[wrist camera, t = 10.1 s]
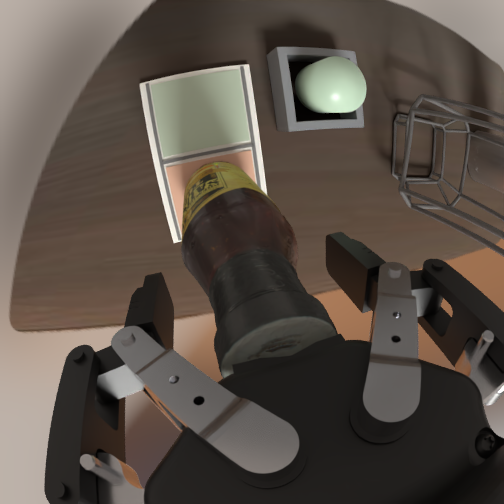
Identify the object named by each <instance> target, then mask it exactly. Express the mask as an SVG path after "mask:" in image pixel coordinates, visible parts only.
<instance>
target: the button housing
mask: <svg viewBox="0 0 504 504" xmlns="http://www.w3.org/2000/svg"><path fill="white" fill-rule="evenodd" d="M266 56H267V62H268V68H269V75H270V81H271V88H272V95H273V102H274V109H275V117H276V124H277V131H286V132H291V131H302V130H315V129H330V128H356V127H364V118H363V107H362V105H361V106H360V107H359V108H358V109H356V110H354V111H352V112H346V113H340V119H324V120H306V121H296V115H295V107H294V99H293V92H292V85H291V78H290V71H289V65H288V62H318V61H320V60H323V59H325V58H328V57H332V56H339V57H343V58H346V59H348V60H350V61H351V62H353V63H354V64H355V65H356V66H357V61H356V55H355V52H354V51H346V50H337V49H326V48H310V47H276V48H275V49H273V50H272V51H271V52H270V53H269V54H267V55H266Z"/></svg>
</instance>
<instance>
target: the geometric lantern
mask: <svg viewBox="0 0 504 504" xmlns="http://www.w3.org/2000/svg"><path fill="white" fill-rule="evenodd" d="M423 99H424V100H426V101H428V102H431V103H433V104H435V105H437V106H439V107H441V108H443V109H445V110H447V111H449V112H451V113H453V114H451V113H445V112H439V111H433V110H426V109H418V108H417V107H418V105H419V104H420V103H421V101H422V100H423ZM440 102H442V103H446V104H451V105H455V106H459V107H462V108H466V109H470V110H473V111H477V112H480V113H483V114H486V115H489V116H492V117H495V118H498V119H501V120H504V115H503V114H500V113H497V112H494V111H491V110H488V109H485V108H481V107H478V106H474V105H470V104H467V103H463V102H459V101H454V100H450V99H445V98H441V97H436V96H430V95H424V94H422V95H420V96H419V97H418V98H417V100H416V101H415V103H414V104H413V105H412V107H411V109H410V110H409V114H408V116H407V115H402V114H397V116H396V118H395V120H394V122H393V123H394V134H393V161H392V175H393V176H394V177H395V178H396V179H397V180H399V181H400V185H399V193H400V195H401V196H402V198H403V199H404V201H405V202H406V204H407V205H408V207H409V208H411V209H413V210H416V211H418V212H420V213H422V214H425V215H427V216H429V217H431V218H433V219H435V220H437V221H439V222H441V223H443V224H445V225H447V226H449V227H451V228H453V229H455V230H457V231H459V232H461V233H463V234H465V235H467V236H469V237H470V238H472V239H474V240H476V241H478V242H480V243H481V244H483V245H485V246H487V247H488V248H490V249H492V250H493V251H495V252H497V253H499V254H500V255H502V256H503V257H504V250H503V249H502V248H500V247H498V246H497V245H495V244H493V243H491V242H490V241H488V240H486V239H484V238H482V237H481V236H479V235H477V234H475V233H473V232H471V231H469V230H467V229H465V228H463V227H461V226H459V225H457V224H455V223H453V222H451V221H449V220H447V219H445V218H443V217H441V216H439V215H436V214H434V213H432V212H430V211H428V210H425V209H443V210H445V211H448V212H450V213H452V214H454V215H456V216H459V217H461V218H463V219H465V220H467V221H469V222H471V223H473V224H475V225H477V226H479V227H481V228H483V229H485V230H487V231H489V232H491V233H493V234H494V235H496V236H498V237H500V238H502V239H504V232H503V231H501V230H499V229H497V228H495V227H493V226H491V225H489V224H487V223H485V222H483V221H481V220H479V219H477V218H475V217H473V216H471V215H469V214H467V213H464V212H462V211H460V210H458V209H456V208H453V207H454V205H455V204H456V203H457V202H458V200H459V199H460V198H463V199H465V200H467V201H469V202H471V203H473V204H474V205H476V206H478V207H480V208H482V209H483V210H485V211H487V212H489V213H491V214H492V215H494V216H496V217H497V218H499V219H501V220H502V221H504V216H502V215H500V214H499V213H497V212H495V211H493V210H492V209H490V208H488V207H486V206H484V205H483V204H481V203H479V202H477V201H475V200H473V199H471V198H469V197H467V196H466V195H464V194H462V191H463V186H464V180H465V174H466V168H467V162H468V154H469V146H470V136H474V137H477V138H480V139H483V140H485V141H488V142H491V143H493V144H496V145H499V146H501V147H503V148H504V143H502V142H499V141H496V140H494V139H491V138H488V137H485V136H482V135H479V134H476V133H473V132H471V131H470V128H469V125H468V123H471V124H475V125H479V126H482V127H486V128H490V129H493V130H496V131H500V132H503V133H504V126H501V125H497V124H494V123H490V122H486V121H482V120H478V119H475V118H472V117H468V116H465V115H463V114H461V113H459V112H458V111H456V110H454V109H452V108H450V107H448V106H446V105H444V104H442V103H440ZM415 113H419V114H426V115H432V116H438V117H443V118H448V119H453V120H451V121H449V122H447V123H444V124H442V123H436V122H432V121H429V120H425V119H421V118H417V117H414V115H415ZM399 117H400V118H401V119H407V120H406V122H405V123H404V122H397V121H398V119H399ZM457 120H458V121H462V122H464V123H465V126H466V129H467V130H454V129H445V126H447V125H449V124H451V123H453V122H455V121H457ZM414 121H418V122H423V123H428V124H431V125H432V126H433V128H434V142H433V160H432V172H431V174H430V175H429V177H428V178H418V177H406V174H407V168H408V162H409V156H410V149H411V142H412V134H413V125H414ZM396 124H397V125H403V126H406V133H405V150H404V162H403V169H402V175H401V174H398V173H394V172H395V157H396ZM435 125H437V126H441V127H442V128H443V129H440V128H436V127H435ZM436 130H438V131H441V132H443V153H442V166H441V175H440V174H437V173H435V172H434V165H435V150H436ZM446 132H464V133H467V142H466V151H465V158H464V165H463V172H462V178H461V183H460V188H459V191H458V190H457V189H456V188H454V187H453V186H452V185H451V184H450V183H448V182H447V181H446V180H445V179H443V170H444V159H445V143H446ZM432 175H436V176H438V177H440V178H439V179H438V180H435V179H432V178H431V177H432ZM407 180H431V181H407ZM441 180H442V181H443V182H445V183H446V184H447V185H448V186H449V187H451V188H452V189H453V190H454V191H455V192H457V193H458V196H457V197H456V198H455V200H454V201H453V202H452V203H451V204H449V202H448V200H447V197H446V195H445V193H444V191H443V189H442V187H441V185H440V183H439V182H440V181H441ZM432 183H437V185H438V187H439V189H440V191H441V193H442V195H443V197H444V199H445V201H446V203H447V205H445V204H443V203H441V202H438V201H436V200H433V199H431V198H428V197H426V196H423V195H421V194H418V193H416V192H413V191H410V190H409V185H408V184H432ZM404 184H406V189H405V188H404ZM406 194H407V196H408V197H407V196H406ZM410 196H412V197H415V198H417V199H420V200H422V201H424V202H427V203H429V204H412V203H411V197H410ZM430 204H432V205H430Z"/></svg>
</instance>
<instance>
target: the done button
mask: <svg viewBox="0 0 504 504" xmlns="http://www.w3.org/2000/svg"><path fill="white" fill-rule="evenodd" d="M295 90H296V94H297V96H298V98H299V100H300V102H301V103H302V104H303V105H304V106H305V107H306V108H308V109H309V110H311V111H314V112H317V113H346V112H352V111H354V110H356V109H358V108H359V107H360V106H361V105H362V103H363V101H364V99H365V96H366V82H365V79H364V76H363V74H362V72H361V71H360V69H359V68H358V67H357V66H356V65H355V64H354V63H353V62H351V61H350V60H348V59H346V58H343V57H339V56H332V57H328V58H325V59H323V60H320V61H318V62H315V63H313V64H310V65H308V66H306V67H304V68H303V69H301V70H300V72H299V73H298V75H297V77H296V80H295Z"/></svg>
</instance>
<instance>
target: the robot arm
mask: <svg viewBox="0 0 504 504" xmlns="http://www.w3.org/2000/svg"><path fill="white" fill-rule="evenodd" d="M474 133H476V134H479V135H482V136H485V137H488V138H491V139H494V140H496V141H499V142H502V143H504V137H503V136H500V135H496V134H492V133H488V132H484V131H479V130H478V131H476V132H474ZM467 164H468V170H469V173H470V176H471V178H472V179H473V180H474V181H476V182H479V183H481V184H484V185H486V186H489V187H491V188H493V189H496V190H498V191H500V192H502V193H504V148H503V147H501V146H499V145H496V144H493V143H491V142H488V141H485V140H483V139H480V138H477V137H474V136H471V139H470V146H469V154H468V162H467ZM326 267H327V270H328V273H329V274H330V276H331V277H332V278H333V279H334V280H335V281H336V283H337V284H338V285H339V286H340V287H341V288H342V290H343V291H344V292H345V293H346V294H347V295H348V297H349V298H350V299H351V300H352V302H353V303H354V304H355V305H356V306H357V308H358V309H359V310H360V311H361V312H362V313H365V312H368V311H370V310H372V311H373V315H372V321H371V329H370V335H369V341H368V342H367V341H362V340H346V341H345V339H344V338H343V336H342V335H341V334H338V335H335V336H332V337H329V338H326V339H323V340H320V341H317V342H315V343H313V344H311V345H310V346H308V347H306V348H304V349H302V350H301V351H299V352H297V353H295V354H293V355H290V356H282V357H268V358H258V359H254V360H250V361H246V362H242V363H238V364H233V365H232V367H233V372H234V373H232V374H230V375H228V376H227V377H225V378H223V379H222V380H221V381H219V382H218V383H217V382H215V381H214V380H213V379H211V378H210V377H208V376H207V375H206V374H204V373H203V372H202V371H200V370H199V369H197V368H196V367H195V366H194V365H192V364H191V363H190V362H188V361H187V360H186V359H185V358H183V357H182V356H181V355H179V354H178V353H177V352H176V351H174V350H173V332H174V330H173V329H174V307H173V303H172V299H171V297H170V294H169V291H168V288H167V286H166V283H165V280H164V277H163V275H162V273H161V272H160V273H156V274H151V275H147V276H145V280H144V284H143V287H141V288H137V290H136V291H135V292H134V294H133V295H132V297H131V301H130V305H129V310H128V313H127V317H126V321H125V326H124V328H123V329H121V330H119V331H118V332H117V333H116V334H115V335H114V336H113V338H112V341H111V346H109V347H107V348H105V349H102V350H100V351H97V352H95V351H94V350H93V348H92V347H91V346H89V345H81V346H78V347H76V348H74V349H73V350H72V351H71V352H70V353H69V355H68V356H67V358H66V361H65V365H64V368H63V372H62V375H61V379H60V383H59V388H58V392H57V396H56V401H55V406H54V411H53V416H52V421H51V428H50V434H49V441H48V448H47V458H46V470H45V495H46V498H47V500H48V501H49V503H50V504H504V438H501V437H499V436H498V435H496V434H495V433H494V432H493V430H492V429H491V428H490V425H489V423H488V420H487V418H486V414H485V410H484V406H483V405H484V404H485V405H491V404H494V403H495V402H496V401H497V400H498V398H499V397H500V396H501V395H502V394H503V393H504V312H503V311H501V309H499V308H498V307H497V306H496V305H495V304H494V303H493V302H492V301H491V300H490V299H488V298H487V297H486V296H485V295H484V294H483V293H482V292H481V291H480V290H478V289H477V288H476V287H475V286H474V285H473V284H472V283H470V282H469V281H468V280H467V279H466V278H464V277H463V276H462V275H461V274H460V273H458V272H457V271H456V270H454V269H453V268H452V267H451V266H450V265H448V264H447V263H446V262H444V261H442V260H439V259H428V260H426V261H425V262H424V264H423V269H422V270H418V271H409V269H408V268H407V267H406V266H405V265H403V264H401V263H397V262H387V263H386V262H385V261H384V260H383V259H381V258H380V257H379V256H378V255H377V254H375V253H374V252H372V250H370V249H369V248H367V246H365V245H364V244H363V243H361V242H359V241H356V240H354V239H350V238H349V237H348V236H346V235H345V234H344V233H342V232H338V233H334V234H329V235H327V236H326ZM443 298H444V299H445V300H446V301H447V302H448V303H449V304H450V305H451V307H452V310H453V315H452V318H451V317H450V316H449V314H448V313H447V312H446V311H445V310H443V308H442V307H441V303H442V300H443ZM418 323H419V324H420V325H421V327H422V328H423V329H424V330H425V331H426V333H427V334H428V335H429V336H430V337H431V338H432V340H433V341H434V342H435V343H436V345H437V346H438V347H439V348H440V349H441V351H442V352H443V353H444V354H445V356H446V357H447V358H448V360H449V361H450V362H451V364H452V365H453V366H454V367H455V371H454V370H451V369H448V368H445V367H441V366H438V365H435V364H432V363H429V362H426V361H423V360H420V359H418ZM140 390H142V391H143V392H144V393H145V394H146V395H147V396H148V398H149V399H150V400H151V401H152V402H153V403H154V404H155V405H156V406H157V407H158V408H159V409H160V410H161V411H162V412H163V413H164V414H165V415H166V416H167V417H168V418H169V420H170V421H171V422H172V423H173V424H174V425H175V426H176V427H177V428H178V429H179V430H180V431H181V434H180V435H179V437H178V438H177V439H176V441H175V442H174V444H173V445H172V447H171V448H170V449H169V451H168V452H167V454H166V455H165V457H164V458H163V459H162V461H161V462H160V463H159V465H158V466H157V468H156V469H155V470H154V472H153V473H152V474H151V476H150V477H149V479H148V481H147V483H146V486H145V489H143V488H142V486H141V485H140V482H139V479H138V476H137V474H136V472H135V471H134V470H133V469H132V468H131V467H129V466H128V465H126V458H125V397H126V396H128V395H131V394H133V393H136V392H138V391H140Z"/></svg>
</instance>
